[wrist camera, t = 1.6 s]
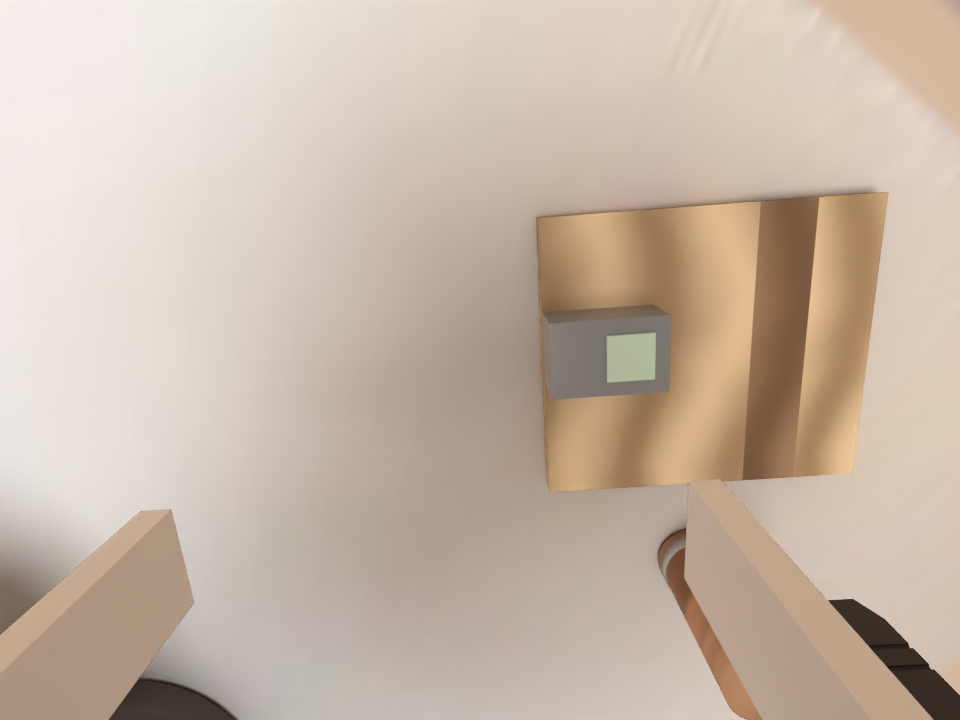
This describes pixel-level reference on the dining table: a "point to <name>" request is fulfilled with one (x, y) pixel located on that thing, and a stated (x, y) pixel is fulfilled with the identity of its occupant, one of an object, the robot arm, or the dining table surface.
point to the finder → (607, 351)
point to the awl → (703, 628)
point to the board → (720, 338)
